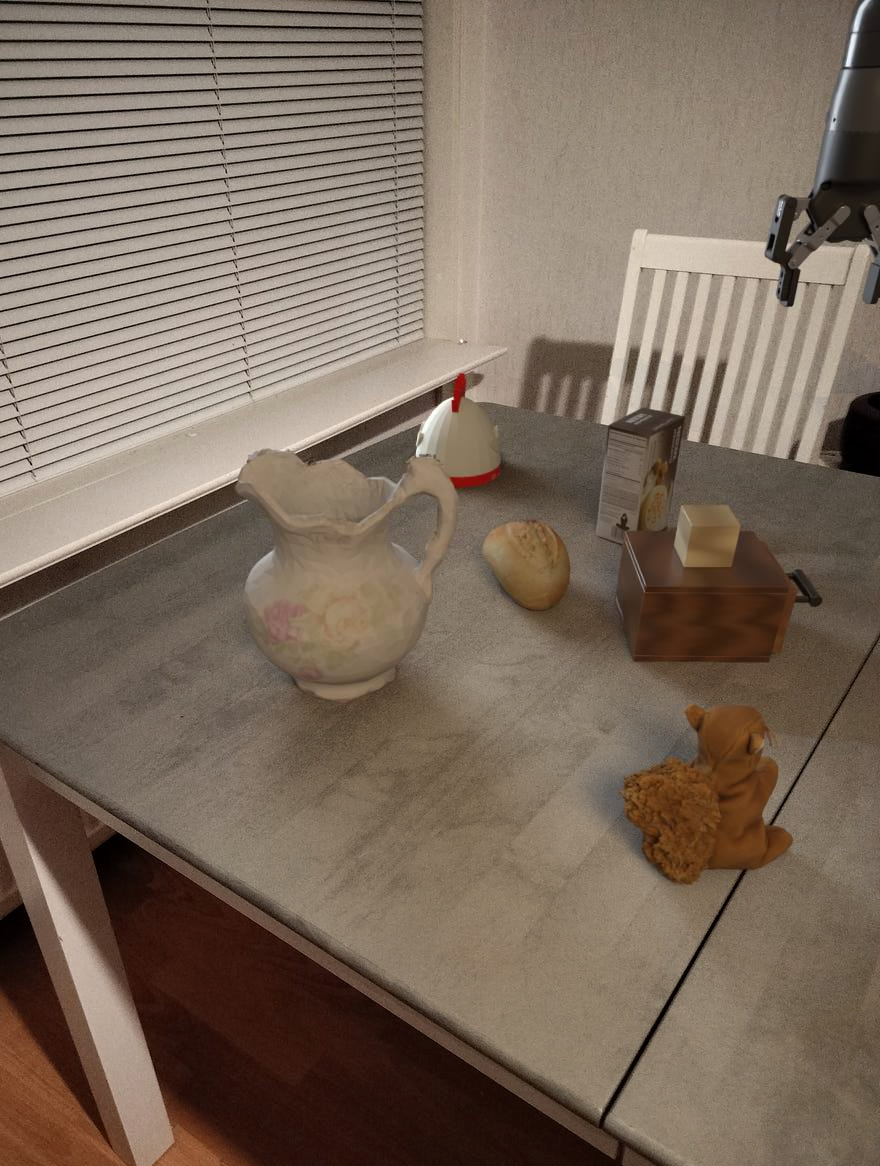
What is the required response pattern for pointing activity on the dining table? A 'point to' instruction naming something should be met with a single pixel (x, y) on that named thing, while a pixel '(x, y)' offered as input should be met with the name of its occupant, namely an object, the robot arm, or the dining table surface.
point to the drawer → (793, 597)
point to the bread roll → (529, 562)
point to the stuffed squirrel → (709, 799)
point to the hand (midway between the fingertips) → (827, 304)
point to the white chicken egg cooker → (461, 439)
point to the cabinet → (698, 602)
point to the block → (706, 535)
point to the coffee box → (639, 473)
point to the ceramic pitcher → (340, 569)
